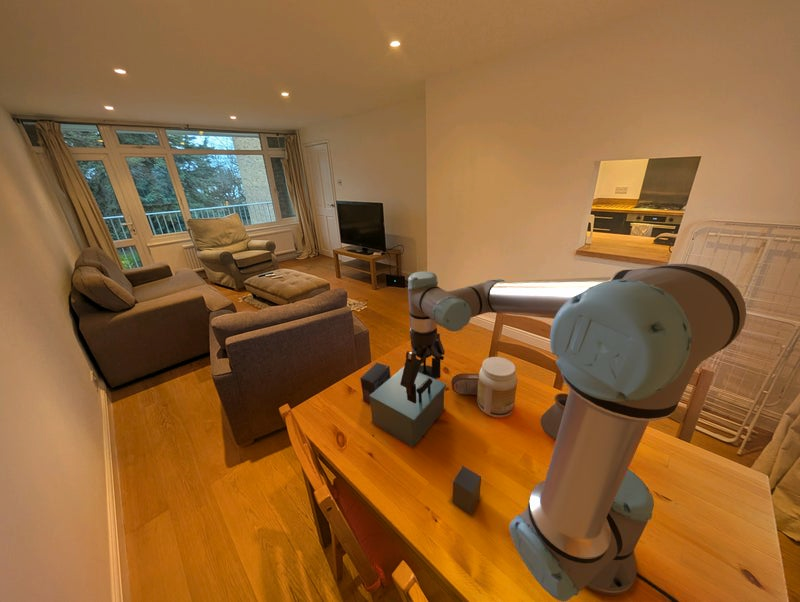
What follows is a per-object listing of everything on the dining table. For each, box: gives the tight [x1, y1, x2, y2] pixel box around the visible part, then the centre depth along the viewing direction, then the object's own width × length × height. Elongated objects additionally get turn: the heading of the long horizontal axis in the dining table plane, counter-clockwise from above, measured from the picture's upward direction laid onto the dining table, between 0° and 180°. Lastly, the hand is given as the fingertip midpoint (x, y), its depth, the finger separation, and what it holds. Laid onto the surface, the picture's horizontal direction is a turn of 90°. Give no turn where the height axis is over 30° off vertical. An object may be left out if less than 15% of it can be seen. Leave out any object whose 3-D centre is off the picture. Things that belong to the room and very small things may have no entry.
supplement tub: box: [476, 356, 518, 418], centre depth 98 cm, size 12×12×17 cm
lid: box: [369, 366, 447, 422], centre depth 94 cm, size 17×19×6 cm
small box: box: [359, 362, 392, 404], centre depth 108 cm, size 11×6×10 cm, turn 149°
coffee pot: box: [539, 392, 569, 442], centre depth 85 cm, size 21×12×15 cm, turn 61°
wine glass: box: [410, 340, 437, 379], centre depth 116 cm, size 10×10×20 cm
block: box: [452, 465, 482, 516], centre depth 72 cm, size 5×5×8 cm
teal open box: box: [369, 388, 445, 448], centre depth 97 cm, size 17×19×11 cm
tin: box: [450, 372, 479, 396], centre depth 106 cm, size 15×3×8 cm, turn 85°
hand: (424, 388), depth 90 cm, fingers open, 13 cm apart
